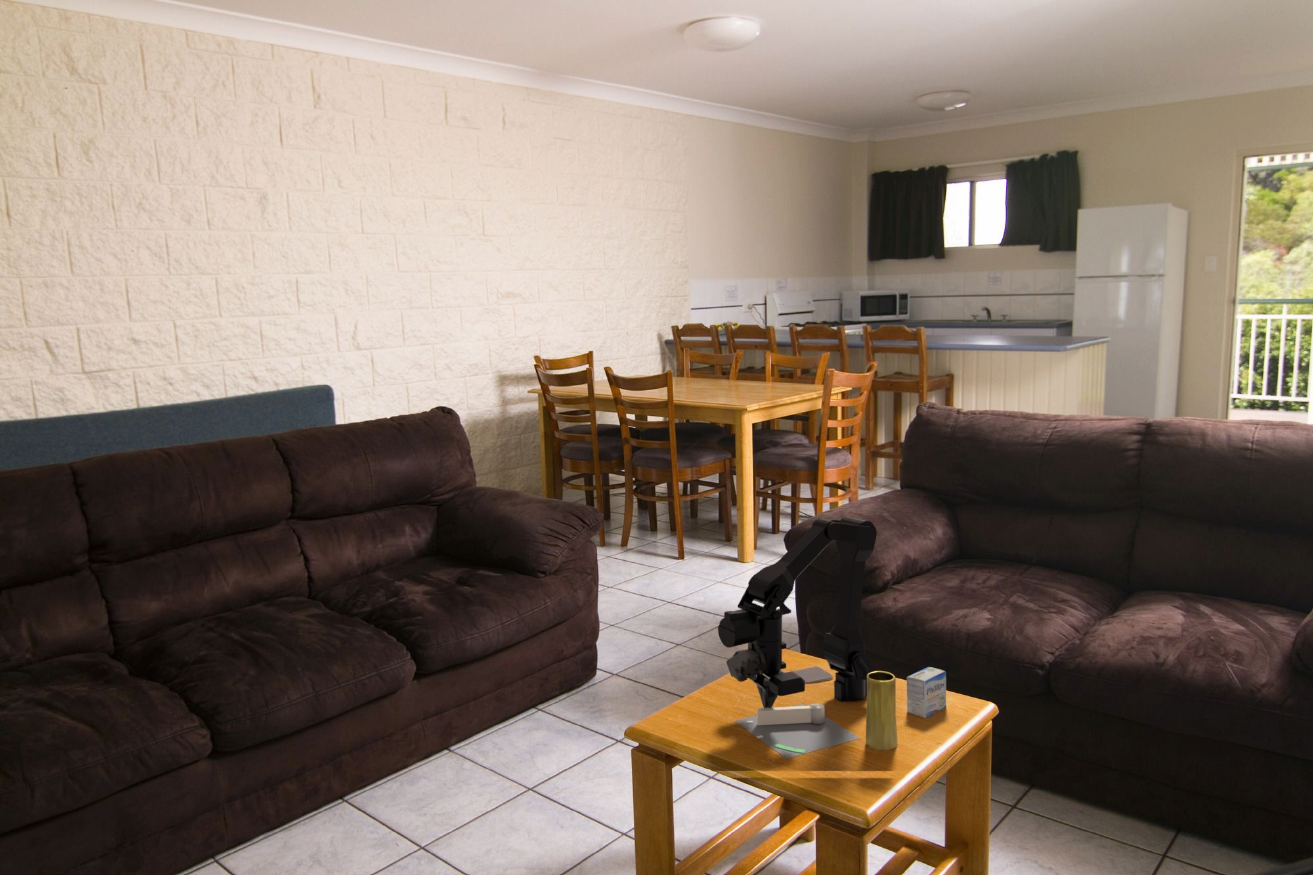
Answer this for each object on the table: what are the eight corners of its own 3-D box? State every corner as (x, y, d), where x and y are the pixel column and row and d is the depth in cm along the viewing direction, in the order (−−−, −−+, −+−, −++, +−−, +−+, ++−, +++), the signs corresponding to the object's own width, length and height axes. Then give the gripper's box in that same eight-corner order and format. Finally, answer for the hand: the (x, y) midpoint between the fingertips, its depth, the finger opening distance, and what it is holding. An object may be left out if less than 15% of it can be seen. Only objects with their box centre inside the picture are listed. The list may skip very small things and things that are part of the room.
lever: (822, 717, 185) (822, 703, 185) (826, 723, 182) (825, 709, 182) (756, 720, 185) (756, 706, 184) (759, 727, 182) (758, 712, 181)
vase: (892, 758, 170) (891, 684, 168) (860, 751, 173) (859, 678, 171) (902, 744, 175) (901, 673, 173) (871, 738, 178) (870, 667, 176)
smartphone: (761, 677, 210) (817, 665, 215) (761, 681, 210) (817, 669, 215) (776, 688, 203) (834, 676, 208) (776, 692, 203) (834, 680, 209)
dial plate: (803, 707, 193) (803, 702, 193) (860, 742, 176) (860, 737, 176) (734, 725, 186) (733, 720, 186) (786, 763, 169) (785, 757, 169)
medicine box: (925, 722, 184) (925, 681, 183) (906, 716, 187) (906, 675, 186) (946, 711, 189) (946, 670, 188) (927, 705, 193) (927, 665, 191)
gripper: (710, 629, 188) (710, 701, 190) (756, 659, 171) (756, 738, 173) (756, 621, 192) (756, 691, 194) (807, 649, 175) (806, 727, 177)
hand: (767, 711), depth 185 cm, fingers closed
